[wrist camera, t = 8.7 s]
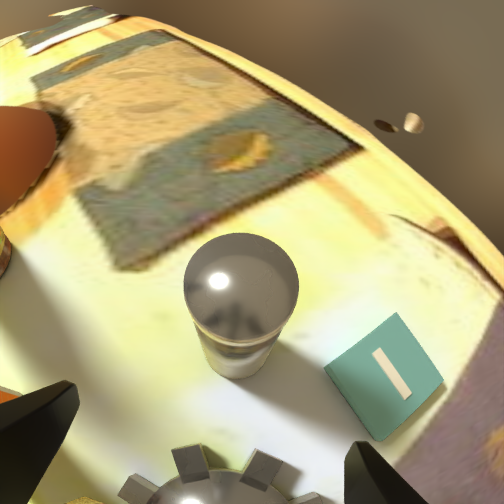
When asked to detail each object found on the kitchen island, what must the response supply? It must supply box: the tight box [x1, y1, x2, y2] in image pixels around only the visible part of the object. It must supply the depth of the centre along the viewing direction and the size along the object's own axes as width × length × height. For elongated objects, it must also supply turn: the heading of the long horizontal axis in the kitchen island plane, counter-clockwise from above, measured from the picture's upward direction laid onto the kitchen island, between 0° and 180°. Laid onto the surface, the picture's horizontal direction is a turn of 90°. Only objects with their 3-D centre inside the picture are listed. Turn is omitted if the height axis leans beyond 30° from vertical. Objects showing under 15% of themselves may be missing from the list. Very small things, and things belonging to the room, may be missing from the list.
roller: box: [184, 233, 299, 379], centre depth 17 cm, size 4×4×11 cm
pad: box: [324, 312, 444, 441], centre depth 20 cm, size 7×7×1 cm
